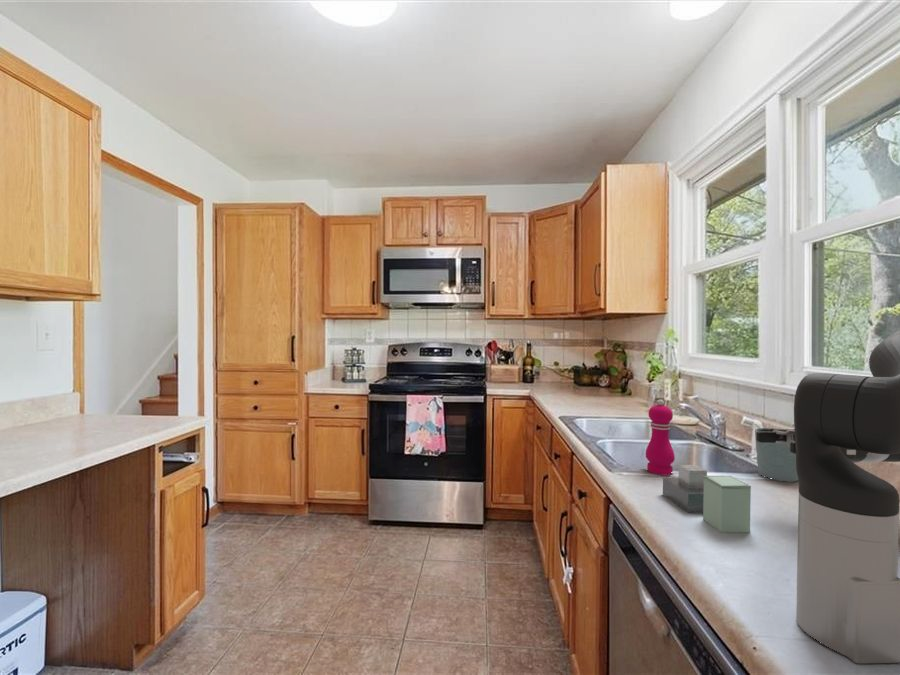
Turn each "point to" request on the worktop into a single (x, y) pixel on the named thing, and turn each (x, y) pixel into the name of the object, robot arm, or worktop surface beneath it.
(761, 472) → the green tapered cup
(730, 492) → the tall mint pillar
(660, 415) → the pepper mill
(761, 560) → the worktop surface
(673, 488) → the grey step block
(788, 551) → the worktop surface
